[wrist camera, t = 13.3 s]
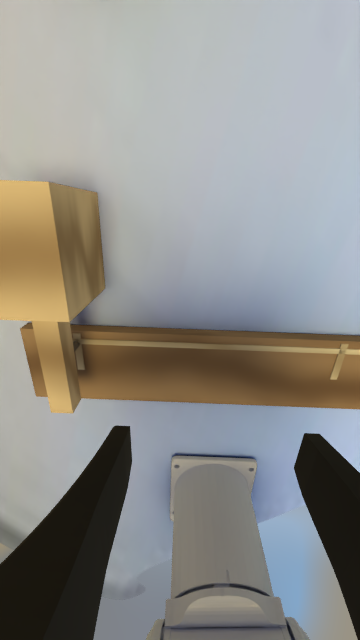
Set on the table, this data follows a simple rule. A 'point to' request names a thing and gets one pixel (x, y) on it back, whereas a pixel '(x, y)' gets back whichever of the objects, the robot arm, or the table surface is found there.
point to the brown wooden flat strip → (210, 366)
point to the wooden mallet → (50, 272)
